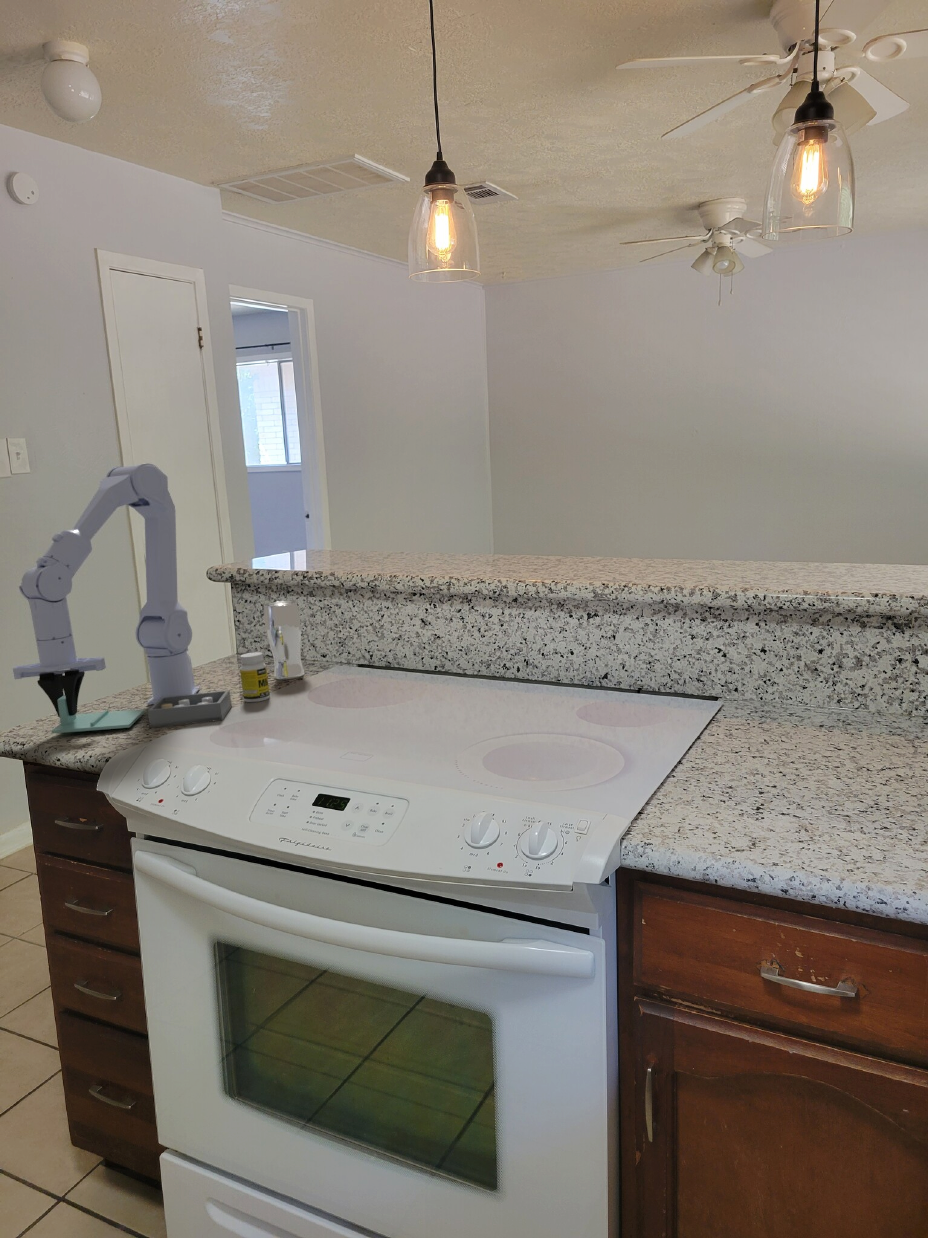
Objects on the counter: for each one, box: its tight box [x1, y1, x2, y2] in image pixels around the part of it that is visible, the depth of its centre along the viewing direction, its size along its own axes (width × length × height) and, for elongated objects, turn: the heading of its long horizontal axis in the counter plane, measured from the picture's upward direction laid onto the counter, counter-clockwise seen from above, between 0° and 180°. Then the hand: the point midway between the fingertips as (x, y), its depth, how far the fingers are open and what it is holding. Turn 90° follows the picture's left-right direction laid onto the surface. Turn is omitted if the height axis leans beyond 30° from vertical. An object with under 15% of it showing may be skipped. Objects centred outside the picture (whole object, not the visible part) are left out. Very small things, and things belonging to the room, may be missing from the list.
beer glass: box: [263, 599, 305, 681], centre depth 178 cm, size 7×7×15 cm
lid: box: [51, 694, 146, 734], centre depth 152 cm, size 10×13×5 cm
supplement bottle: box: [239, 651, 271, 703], centre depth 161 cm, size 5×5×8 cm
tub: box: [147, 690, 233, 729], centre depth 153 cm, size 9×12×3 cm
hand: (67, 714), depth 152 cm, fingers closed on lid
